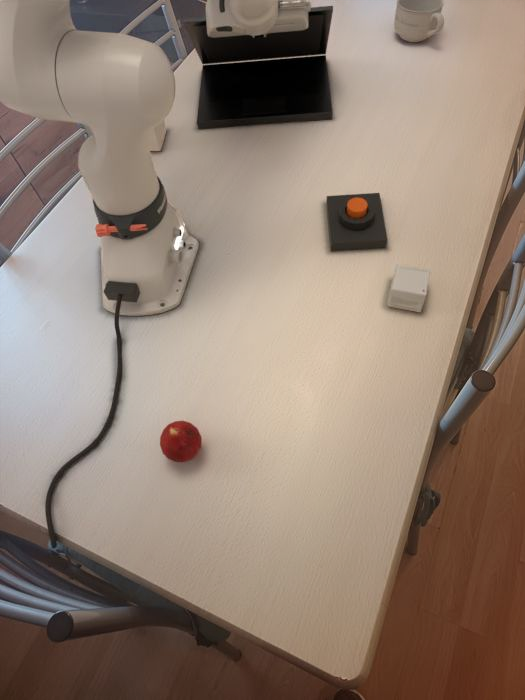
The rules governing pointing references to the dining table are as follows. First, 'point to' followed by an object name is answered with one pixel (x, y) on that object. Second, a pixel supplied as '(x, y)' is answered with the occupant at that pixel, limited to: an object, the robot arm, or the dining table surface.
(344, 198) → the switch block
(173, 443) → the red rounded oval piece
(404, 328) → the dining table surface
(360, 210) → the switch button
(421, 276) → the small box
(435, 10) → the teacup
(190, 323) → the dining table surface
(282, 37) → the laptop screen
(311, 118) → the laptop
